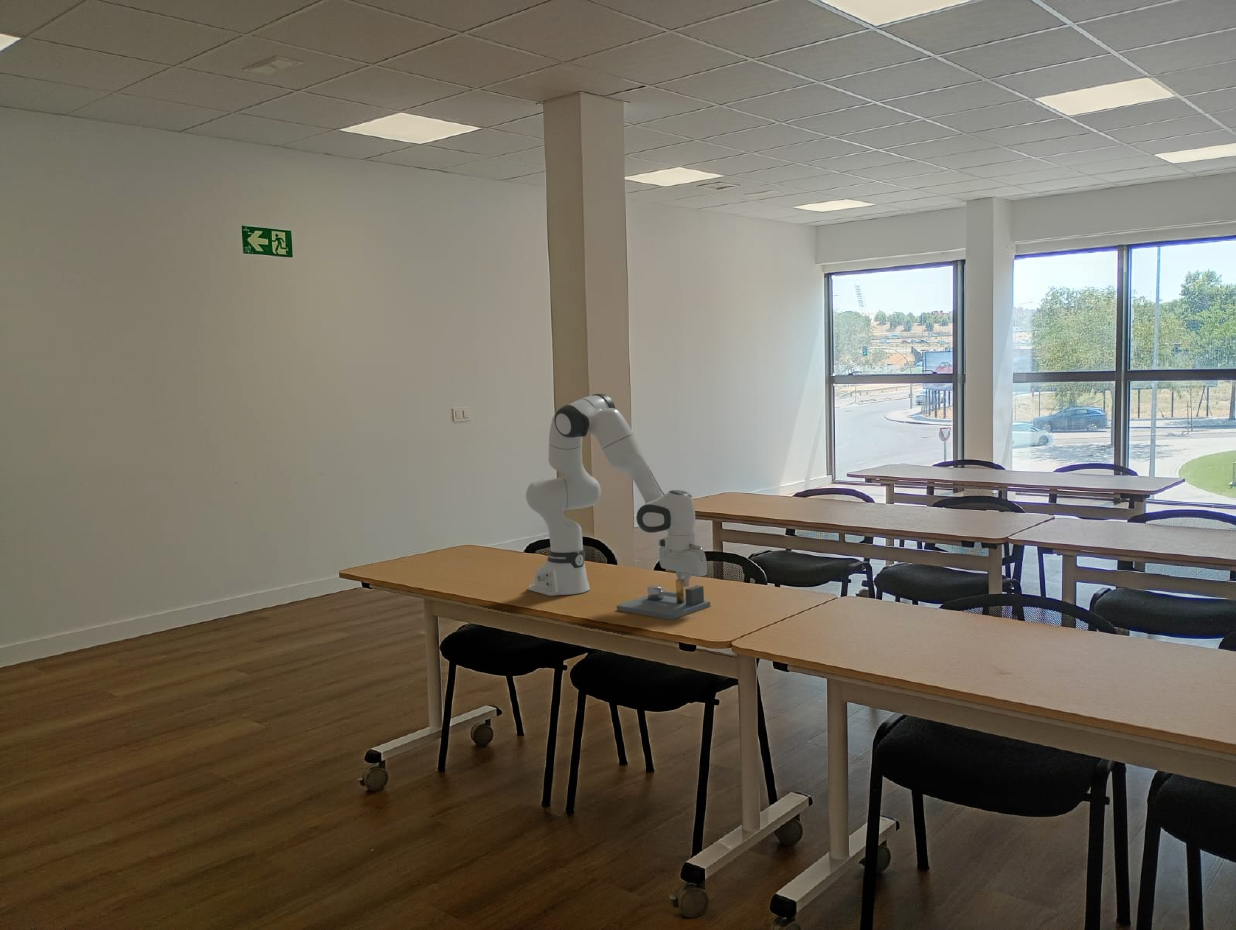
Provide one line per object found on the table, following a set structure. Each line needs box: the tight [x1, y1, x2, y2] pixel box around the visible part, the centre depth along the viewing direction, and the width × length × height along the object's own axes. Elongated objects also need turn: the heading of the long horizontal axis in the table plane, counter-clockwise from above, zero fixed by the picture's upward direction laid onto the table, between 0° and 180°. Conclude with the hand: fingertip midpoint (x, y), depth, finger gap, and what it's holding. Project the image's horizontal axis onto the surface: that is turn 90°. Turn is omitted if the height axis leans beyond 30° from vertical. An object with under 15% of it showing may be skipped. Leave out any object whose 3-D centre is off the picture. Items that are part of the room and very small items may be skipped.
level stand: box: [616, 584, 711, 621], centre depth 296 cm, size 22×19×6 cm
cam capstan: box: [646, 578, 685, 603], centre depth 299 cm, size 14×5×7 cm, turn 48°
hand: (683, 586), depth 298 cm, fingers closed
